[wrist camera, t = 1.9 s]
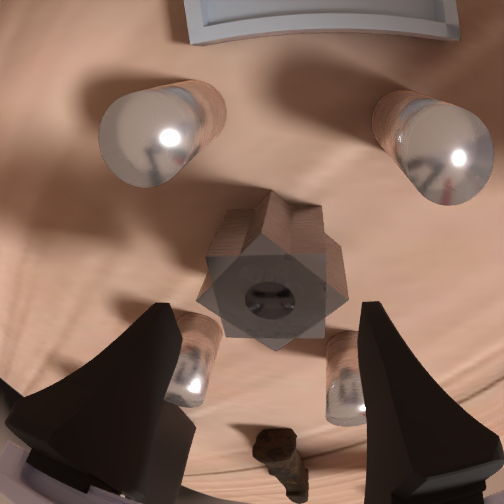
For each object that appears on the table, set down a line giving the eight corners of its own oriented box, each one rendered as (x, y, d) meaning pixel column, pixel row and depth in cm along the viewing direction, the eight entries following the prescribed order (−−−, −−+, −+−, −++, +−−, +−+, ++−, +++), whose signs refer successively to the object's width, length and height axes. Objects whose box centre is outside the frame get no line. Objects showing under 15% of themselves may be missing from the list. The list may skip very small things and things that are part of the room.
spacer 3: (375, 330, 18) (385, 399, 14) (368, 360, 20) (375, 424, 15) (326, 331, 19) (327, 402, 14) (325, 361, 20) (324, 427, 16)
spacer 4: (435, 92, 10) (497, 113, 6) (434, 158, 12) (486, 206, 8) (369, 88, 11) (407, 102, 7) (371, 156, 13) (404, 205, 8)
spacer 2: (217, 313, 19) (195, 381, 15) (226, 346, 21) (208, 410, 16) (172, 312, 20) (143, 374, 15) (184, 343, 21) (161, 403, 17)
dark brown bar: (255, 425, 27) (247, 467, 23) (297, 425, 26) (292, 469, 22) (285, 477, 37) (281, 505, 33) (313, 477, 36) (310, 505, 32)
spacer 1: (220, 74, 12) (176, 81, 7) (231, 141, 13) (196, 182, 9) (155, 87, 12) (89, 105, 8) (168, 149, 14) (112, 192, 10)
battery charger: (133, 388, 27) (90, 492, 17) (166, 390, 25) (125, 505, 16) (168, 424, 30) (138, 515, 20) (199, 426, 29) (172, 524, 19)
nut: (341, 186, 14) (352, 230, 10) (339, 294, 17) (343, 350, 14) (206, 193, 15) (177, 236, 12) (227, 295, 18) (211, 349, 15)
